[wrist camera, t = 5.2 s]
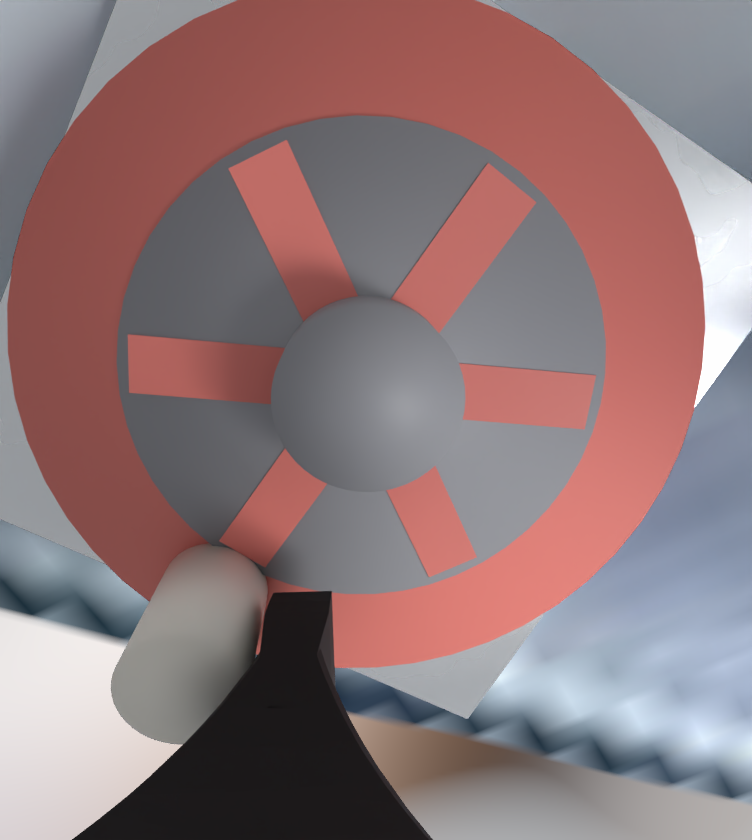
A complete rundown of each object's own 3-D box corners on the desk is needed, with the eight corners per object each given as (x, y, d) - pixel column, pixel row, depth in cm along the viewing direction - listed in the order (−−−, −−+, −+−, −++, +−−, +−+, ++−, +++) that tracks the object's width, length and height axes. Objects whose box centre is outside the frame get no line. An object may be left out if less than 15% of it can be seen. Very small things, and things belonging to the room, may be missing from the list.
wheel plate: (807, 232, 12) (822, 232, 12) (464, 706, 15) (467, 718, 15) (202, -189, 10) (196, -207, 9) (-60, 480, 13) (-72, 488, 12)
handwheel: (268, -178, 9) (218, -452, 5) (797, 292, 12) (1006, 322, 8) (-69, 441, 12) (-259, 540, 8) (424, 714, 14) (452, 884, 11)
